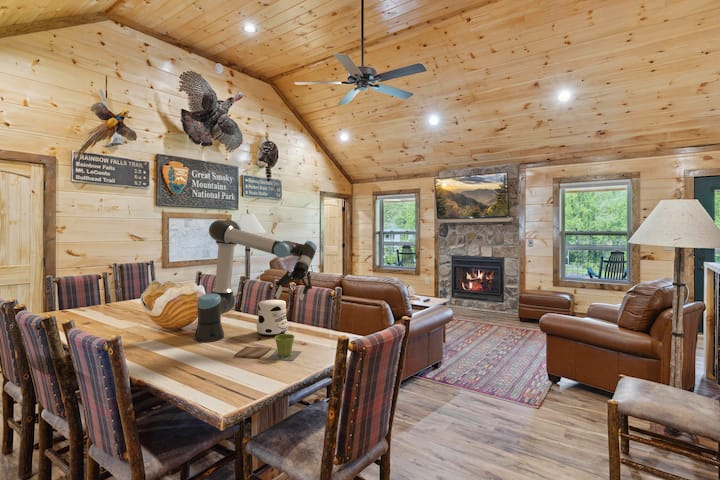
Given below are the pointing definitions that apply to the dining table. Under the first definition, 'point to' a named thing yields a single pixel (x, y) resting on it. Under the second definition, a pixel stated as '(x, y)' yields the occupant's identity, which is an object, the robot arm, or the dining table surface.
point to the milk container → (272, 317)
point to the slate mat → (288, 358)
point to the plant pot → (284, 344)
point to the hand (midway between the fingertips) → (288, 298)
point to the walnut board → (252, 352)
